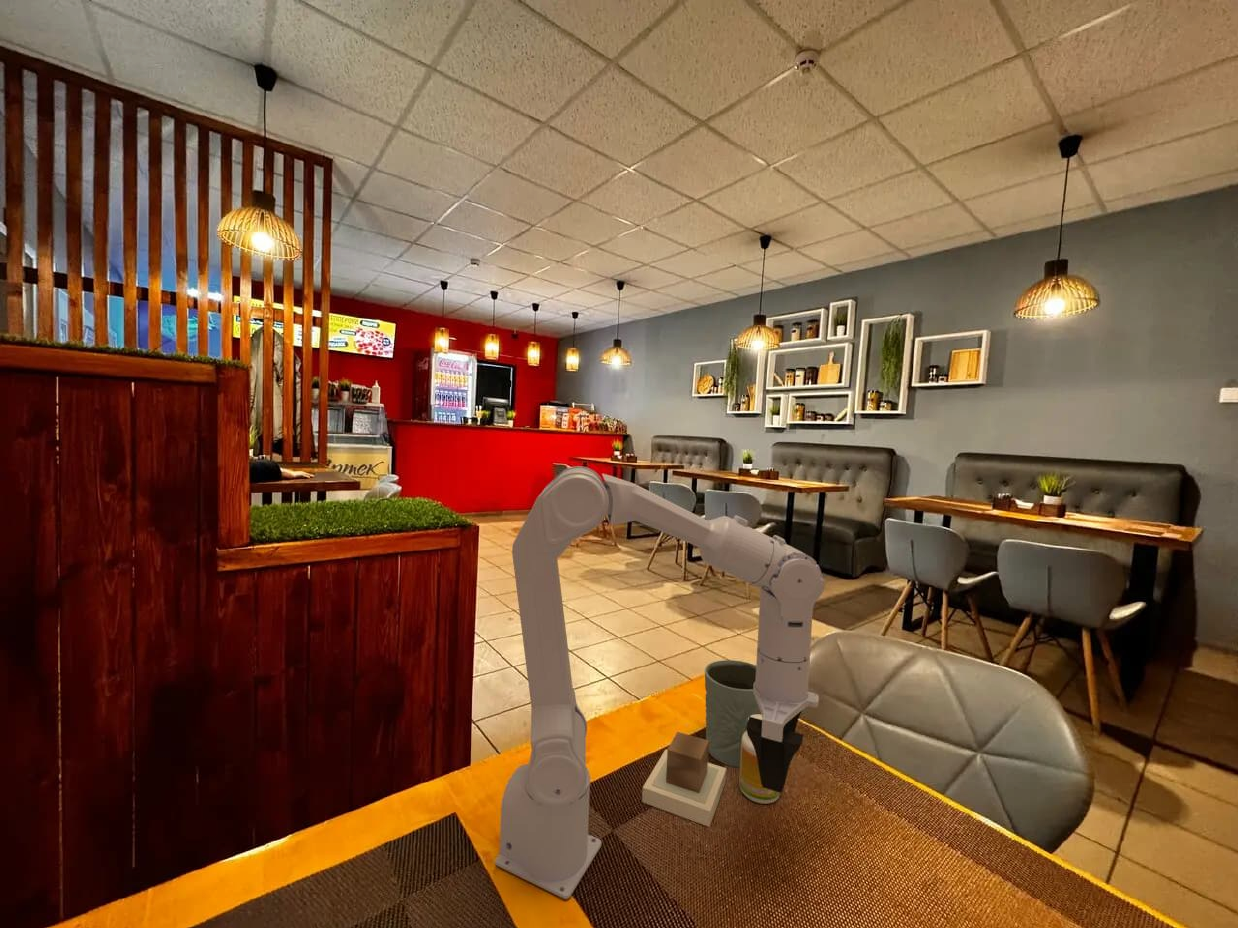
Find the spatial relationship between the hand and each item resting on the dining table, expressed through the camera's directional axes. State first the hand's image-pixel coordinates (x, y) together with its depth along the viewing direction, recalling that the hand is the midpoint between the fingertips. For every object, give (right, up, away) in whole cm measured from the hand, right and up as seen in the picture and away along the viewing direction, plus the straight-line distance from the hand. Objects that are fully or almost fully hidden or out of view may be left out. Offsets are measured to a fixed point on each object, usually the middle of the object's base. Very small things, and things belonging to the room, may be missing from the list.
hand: (776, 767), depth 57 cm
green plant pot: (0, -10, +20) cm, 22 cm away
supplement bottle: (+1, -10, +11) cm, 15 cm away
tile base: (-9, -10, +10) cm, 17 cm away
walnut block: (-9, -8, +10) cm, 15 cm away
